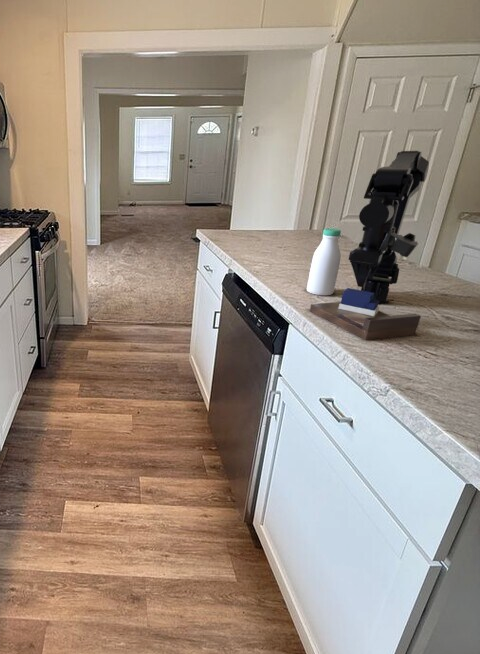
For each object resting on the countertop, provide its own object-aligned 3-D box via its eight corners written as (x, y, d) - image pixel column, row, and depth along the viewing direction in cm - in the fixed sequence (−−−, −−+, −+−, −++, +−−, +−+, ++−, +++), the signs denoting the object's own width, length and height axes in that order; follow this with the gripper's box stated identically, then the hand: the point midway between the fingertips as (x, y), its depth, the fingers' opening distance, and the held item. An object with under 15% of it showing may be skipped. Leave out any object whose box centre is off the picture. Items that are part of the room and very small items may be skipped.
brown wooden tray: (309, 310, 114) (312, 294, 112) (352, 306, 116) (356, 290, 114) (365, 339, 96) (370, 320, 94) (415, 334, 98) (421, 315, 96)
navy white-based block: (338, 308, 110) (342, 291, 108) (343, 304, 112) (347, 287, 111) (374, 316, 104) (378, 298, 102) (378, 311, 107) (382, 294, 105)
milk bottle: (338, 295, 125) (352, 231, 118) (313, 296, 125) (326, 231, 118) (325, 288, 132) (338, 227, 125) (301, 288, 133) (313, 227, 125)
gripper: (412, 231, 88) (394, 298, 94) (426, 220, 100) (409, 280, 106) (355, 226, 95) (341, 288, 101) (374, 217, 108) (361, 273, 113)
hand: (364, 282), depth 105 cm, fingers open, 9 cm apart
